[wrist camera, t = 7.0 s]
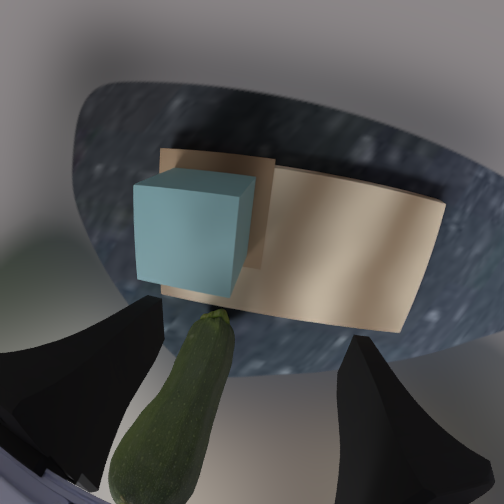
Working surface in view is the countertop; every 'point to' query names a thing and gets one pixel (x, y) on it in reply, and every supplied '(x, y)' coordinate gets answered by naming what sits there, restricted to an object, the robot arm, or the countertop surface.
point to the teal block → (193, 229)
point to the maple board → (323, 244)
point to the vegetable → (176, 421)
